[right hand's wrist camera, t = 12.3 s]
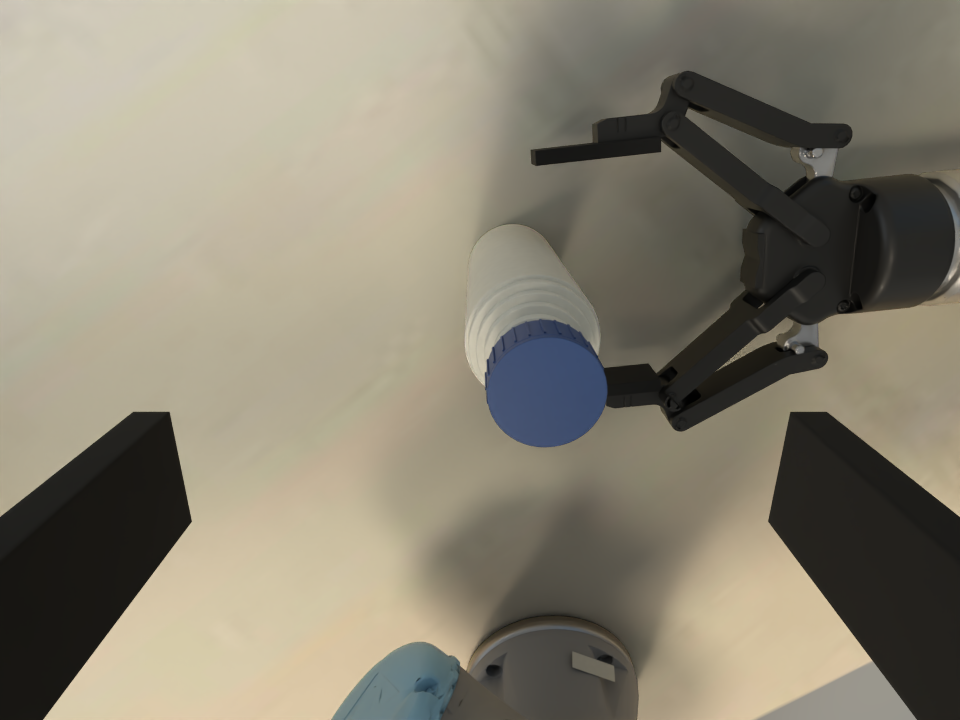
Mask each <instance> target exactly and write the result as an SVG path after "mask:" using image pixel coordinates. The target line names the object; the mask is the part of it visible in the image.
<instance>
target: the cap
mask: <svg viewBox="0 0 960 720" xmlns="http://www.w3.org/2000/svg"><path fill="white" fill-rule="evenodd" d="M486 362H487V369H486V372H485V390H486V394H487V404H488V405H489V409H490V412H491V414H492V417H493V418H494V420H495V422H496V423H497V425H498V426H499V427H500V428H501V429H502V430H503V431H504V432H505V433H506V434H507V435H509V436H510V437H511V438H513V439H515V440H517V441H519V442H521V443H523V444H527V445H530V446H536V447H555V446H560V445H563V444H567V443H569V442H572V441H574V440H576V439H577V438H579V437H581V436H582V435H584V434H585V433H586V432H587V431H589V430H590V429H591V428H592V427H593V426H594V424H595V423H596V422H597V420H598V419H599V417H600V415H601V414H602V411H603V409H604V407H605V403H606V399H607V381H606V376H605V373H604V367H603V366H602V364H601V362H600V360H599V359H598V356H597V354H596V352H595V350H594V348H593V347H592V345H591V343H590V342H589V341H588V342H587V340H586V339H585V338H584V337H583V335H582V333H581V332H580V331H579V332H578V331H577V330H575V329H574V328H572V327H571V326H570V325H569V324H567V325H566V324H564V323H561V322H558V321H556V320H554V321H553V320H542V319H539V320H534V321H529V322H527V321H526V322H525V323H522V324H520V325H518V326H516V327H512V329H511V330H509V331H508V332H506V333H505V334H504V335H503V336H501V337H500V339H499V340H498V341H497V343H496V344H495V346H494V347H492V351H491V353H490V356H489V358H488V359H487V360H486Z"/></svg>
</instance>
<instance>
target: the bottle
mask: <svg viewBox="0 0 960 720" xmlns="http://www.w3.org/2000/svg"><path fill="white" fill-rule="evenodd" d="M539 319H542V320H553V321H554V320H556V321H558V322H561V323H564V324H566V325H567V324H569V325H570V326H571V327H572V328H574V329H575V330H577V331H578V332H579V331H580V332H581V333H582V335H583V337H584V338H585V339H586V340H587V342H588V341H589V342H590V343H591V345H592V347H593V348H594V350H595V352H596V354H597V356H598V353H599V349H600V341H601V332H600V325H599V321H598V318H597V315H596V312H595V310H594V308H593V306H592V305H591V303H590V302H589V300H588V299H587V297H586V296H585V295H584V293H583V292H582V290H581V289H580V287H579V286H578V285H577V283H576V282H575V280H574V279H573V277H572V276H571V275H570V273H569V272H568V270H567V269H566V267H565V266H564V265H563V263H562V262H561V260H560V259H559V258H558V256H557V255H556V253H555V252H554V250H553V249H552V248H551V246H550V245H549V243H548V242H547V240H546V239H545V238H544V237H543V236H542V235H541V234H540V233H538V232H537V231H535V230H534V229H532V228H530V227H527V226H524V225H519V224H506V225H501V226H498V227H495V228H493V229H491V230H489V231H488V232H487V233H485V234H484V235H483V236H482V237H481V238H480V239H479V240H478V241H477V243H476V244H475V246H474V247H473V249H472V252H471V254H470V258H469V263H468V281H467V300H466V319H465V338H464V345H465V353H466V357H467V360H468V363H469V365H470V368H471V370H472V371H473V373H474V375H475V376H476V377H477V379H478V380H479V381H480V382H481V383H482V384H483V385H484V386H485V372H486V369H487V362H486V360H487V359H488V358H489V356H490V353H491V351H492V347H494V346H495V344H496V343H497V341H498V340H499V339H500V337H501V336H503V335H504V334H505V333H506V332H508V331H509V330H511V329H512V327H516V326H518V325H520V324H522V323H525V322H526V321H527V322H529V321H534V320H539Z"/></svg>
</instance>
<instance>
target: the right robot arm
mask: <svg viewBox="0 0 960 720" xmlns="http://www.w3.org/2000/svg"><path fill="white" fill-rule="evenodd" d="M191 522H192V520H191V515H190V510H189V505H188V500H187V495H186V491H185V486H184V481H183V476H182V471H181V466H180V461H179V456H178V451H177V446H176V441H175V436H174V431H173V427H172V422H171V417H170V412H133V413H131V414H130V415H129V416H127V417H126V418H125V419H124V420H122V421H121V422H120V423H119V424H117V425H116V426H115V427H114V428H112V429H111V430H110V431H109V432H107V433H106V434H105V435H103V436H102V437H101V438H100V439H98V440H97V441H96V442H95V443H93V444H92V445H91V446H90V447H88V448H87V449H86V450H84V451H83V452H82V453H81V454H79V455H78V456H77V457H76V458H74V459H73V460H72V461H71V462H69V463H68V464H67V465H65V466H64V467H63V468H62V469H60V470H59V471H58V472H57V473H55V474H54V475H53V476H52V477H50V478H49V479H48V480H46V481H45V482H44V483H43V484H41V485H40V486H39V487H38V488H36V489H35V490H34V491H33V492H31V493H30V494H29V495H28V496H26V497H25V498H24V499H22V500H21V501H20V502H19V503H17V504H16V505H15V506H14V507H12V508H11V509H10V510H9V511H7V512H6V513H5V514H3V515H2V516H1V517H0V720H43V719H44V718H45V716H46V715H47V714H48V712H49V711H50V710H51V708H52V707H53V706H54V704H55V703H56V702H57V700H58V699H59V698H60V696H61V695H62V694H63V692H64V691H65V690H66V688H67V687H68V686H69V684H70V683H71V682H72V680H73V679H74V678H75V676H76V675H77V674H78V672H79V671H80V670H81V668H82V667H83V666H84V664H85V663H86V662H87V660H88V659H89V658H90V656H91V655H92V654H93V652H94V651H95V650H96V648H97V647H98V646H99V644H100V643H101V642H102V640H103V639H104V638H105V636H106V635H107V634H108V632H109V631H110V630H111V628H112V627H113V626H114V624H115V623H116V622H117V620H118V619H119V618H120V616H121V615H122V614H123V612H124V611H125V610H126V608H127V607H128V606H129V604H130V603H131V602H132V600H133V599H134V598H135V596H136V595H137V594H138V593H139V591H140V590H141V589H142V587H143V586H144V585H145V583H146V582H147V581H148V579H149V578H150V577H151V575H152V574H153V573H154V571H155V570H156V569H157V567H158V566H159V565H160V563H161V562H162V561H163V559H164V558H165V557H166V555H167V554H168V553H169V551H170V550H171V549H172V547H173V546H174V545H175V543H176V542H177V541H178V539H179V538H180V537H181V535H182V534H183V533H184V531H185V530H186V529H187V527H188V526H189V525H190V523H191ZM768 522H769V523H770V525H771V526H772V527H773V529H774V530H775V531H776V533H777V534H778V535H779V537H780V538H781V539H782V541H783V542H784V543H785V545H786V546H787V547H788V549H789V550H790V551H791V553H792V554H793V555H794V557H795V558H796V559H797V561H798V562H799V563H800V565H801V566H802V567H803V569H804V570H805V571H806V573H807V574H808V575H809V577H810V578H811V579H812V581H813V582H814V583H815V585H816V586H817V587H818V589H819V590H820V591H821V593H822V594H823V595H824V596H825V598H826V599H827V600H828V602H829V603H830V604H831V606H832V607H833V608H834V610H835V611H836V612H837V614H838V615H839V616H840V618H841V619H842V620H843V622H844V623H845V624H846V626H847V627H848V628H849V630H850V631H851V632H852V634H853V635H854V636H855V638H856V639H857V640H858V642H859V643H860V644H861V646H862V647H863V648H864V650H865V651H866V652H867V654H868V655H869V656H870V658H871V659H872V660H873V662H874V663H875V664H876V666H877V667H878V668H879V670H880V671H881V672H882V674H883V675H884V676H885V678H886V679H887V680H888V682H889V683H890V684H891V686H892V687H893V688H894V690H895V691H896V692H897V694H898V695H899V696H900V698H901V699H902V700H903V702H904V703H905V704H906V706H907V707H908V708H909V710H910V711H911V712H912V714H913V715H914V716H915V718H916V719H917V720H960V517H959V516H958V515H957V514H955V513H954V512H953V511H951V510H950V509H949V508H948V507H946V506H945V505H944V504H943V503H941V502H940V501H939V500H938V499H936V498H935V497H934V496H932V495H931V494H930V493H929V492H927V491H926V490H925V489H924V488H922V487H921V486H920V485H919V484H917V483H916V482H915V481H914V480H912V479H911V478H910V477H908V476H907V475H906V474H905V473H903V472H902V471H901V470H900V469H898V468H897V467H896V466H895V465H893V464H892V463H891V462H889V461H888V460H887V459H886V458H884V457H883V456H882V455H881V454H879V453H878V452H877V451H876V450H874V449H873V448H872V447H870V446H869V445H868V444H867V443H865V442H864V441H863V440H862V439H860V438H859V437H858V436H857V435H855V434H854V433H853V432H851V431H850V430H849V429H848V428H846V427H845V426H844V425H843V424H841V423H840V422H839V421H838V420H836V419H835V418H834V417H833V416H831V415H830V414H829V413H827V412H790V417H789V422H788V427H787V431H786V436H785V441H784V446H783V451H782V456H781V461H780V466H779V471H778V476H777V481H776V486H775V491H774V495H773V500H772V505H771V510H770V515H769V520H768Z"/></svg>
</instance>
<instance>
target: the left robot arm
mask: <svg viewBox="0 0 960 720" xmlns="http://www.w3.org/2000/svg"><path fill="white" fill-rule="evenodd" d="M688 108H689V109H691V110H693V111H696V112H698V113H700V114H703V115H705V116H707V117H710V118H712V119H714V120H717V121H719V122H721V123H724V124H726V125H728V126H731V127H733V128H736V129H738V130H740V131H743V132H745V133H747V134H750V135H752V136H754V137H757V138H759V139H761V140H764V141H766V142H768V143H771V144H774V145H777V146H782V147H791V148H792V149H791V151H790V154H791V157H792V159H793V161H795V162H797V163H800V164H802V165H803V166H804V167H805V168H806V176H805V177H803V178H801V179H799V180H798V181H797V182H795V183H794V184H793V185H792V186H790V187H789V188H788V189H787V190H786V191H784V192H782V191H781V190H779V189H778V188H776V187H775V186H773V185H771V184H769V183H767V182H766V181H765V180H764V179H762V178H761V177H760V176H759V175H757V174H756V173H755V172H754V171H752V170H751V169H750V168H749V167H747V166H746V165H745V164H744V163H742V162H741V161H740V160H739V159H737V158H736V157H735V156H734V155H733V154H731V153H730V152H729V151H728V150H726V149H725V148H724V147H723V146H721V145H720V144H719V143H718V142H716V141H715V140H714V139H713V138H711V137H710V136H709V135H708V134H706V133H705V132H704V131H703V130H701V129H700V128H699V127H698V126H696V125H695V124H694V123H693V122H691V121H690V120H689V119H688V118H686V117H685V115H686V112H687V109H688ZM592 130H593V143H587V144H578V145H569V146H560V147H551V148H543V149H534V150H531V163H532V164H533V165H535V166H540V165H549V164H558V163H567V162H576V161H584V160H593V159H602V158H611V157H620V156H629V155H638V154H647V153H656V152H661V141H662V142H663V143H664V144H666V145H667V146H668V147H670V148H671V149H672V150H673V151H675V152H676V153H677V154H678V155H680V156H681V157H682V158H684V159H685V160H686V161H687V162H689V163H690V164H691V165H692V166H694V167H695V168H696V169H698V170H699V171H700V172H701V173H703V174H704V175H705V176H707V177H708V178H709V179H710V180H712V181H713V182H714V183H715V184H717V185H718V186H719V187H721V188H722V189H723V190H724V191H726V192H727V193H728V194H729V195H731V196H732V197H733V198H734V199H735V201H736V202H737V203H738V204H740V205H741V206H742V207H744V208H745V209H746V210H747V211H749V212H750V213H751V214H752V215H754V217H753V218H752V219H751V221H750V222H749V224H748V226H747V229H743V237H742V243H743V248H744V252H745V257H744V260H743V264H742V267H741V278H740V281H741V282H743V283H744V285H745V287H746V290H745V291H744V292H743V293H742V294H741V295H739V296H738V297H737V298H736V299H735V300H734V301H733V302H732V303H731V305H730V309H729V310H728V311H727V312H726V313H725V314H724V315H722V316H721V317H720V318H719V319H718V320H717V321H716V322H714V323H713V324H712V325H711V326H710V327H709V328H708V329H707V330H705V331H704V332H703V333H702V334H701V335H700V336H699V337H697V338H696V339H695V340H694V341H693V342H692V343H691V344H690V345H688V346H687V347H686V348H685V349H684V350H683V351H682V352H680V353H679V354H678V355H677V356H676V357H675V358H674V359H672V360H671V361H670V362H669V363H668V364H667V365H666V366H665V367H663V368H662V369H661V370H660V371H659V372H658V373H657V374H656V373H655V372H654V370H653V369H652V368H651V366H650V365H649V364H639V365H629V366H619V367H609V368H604V373H605V376H606V381H607V399H606V403H605V404H606V406H608V407H612V408H622V407H630V406H642V405H652V404H654V405H659V406H660V408H661V411H662V413H663V414H664V416H665V417H666V418H667V420H668V421H669V423H670V424H671V426H672V427H673V428H674V429H675V430H676V431H685V430H687V429H689V428H691V427H693V426H694V425H696V424H698V423H700V422H702V421H704V420H706V419H707V418H709V417H711V416H713V415H715V414H717V413H719V412H721V411H722V410H724V409H726V408H728V407H730V406H732V405H734V404H735V403H737V402H739V401H741V400H743V399H745V398H747V397H749V396H750V395H752V394H754V393H756V392H758V391H760V390H762V389H763V388H765V387H767V386H769V385H771V384H773V383H775V382H777V381H778V380H780V379H782V378H784V377H786V376H788V375H790V374H794V373H799V372H804V371H809V370H814V369H819V368H821V367H823V366H824V365H825V364H826V363H827V361H828V355H827V353H826V352H825V351H824V350H822V349H820V348H819V344H818V323H819V322H821V321H823V320H824V319H826V318H828V317H830V316H833V315H836V314H850V313H862V312H871V311H881V310H891V309H901V308H910V307H914V306H917V305H922V306H934V305H942V304H951V303H959V302H960V169H955V170H945V171H935V172H925V173H922V174H919V175H914V174H903V175H894V176H885V177H876V178H867V179H857V180H848V181H839V180H837V179H835V178H833V173H834V168H835V163H836V158H837V153H838V148H843V147H845V146H846V145H847V144H848V143H849V142H850V141H851V138H852V129H851V127H850V126H848V125H847V124H820V123H809V122H807V121H804V120H802V119H800V118H798V117H795V116H793V115H791V114H788V113H786V112H784V111H781V110H779V109H777V108H775V107H772V106H770V105H768V104H765V103H763V102H761V101H759V100H756V99H754V98H752V97H749V96H747V95H745V94H742V93H740V92H738V91H736V90H733V89H731V88H729V87H726V86H724V85H722V84H720V83H717V82H715V81H713V80H710V79H708V78H706V77H704V76H701V75H699V74H697V73H694V72H692V71H685V72H682V73H678V74H675V75H672V76H669V77H667V78H666V79H665V80H664V81H663V83H662V86H661V96H660V99H659V102H658V104H657V106H656V108H655V109H654V110H653V111H652V112H650V113H648V114H644V115H635V116H626V117H617V118H608V119H602V120H600V121H598V122H596V123H594V124H592ZM763 303H765V305H764V306H762V307H761V308H758V307H759V306H761V305H762V304H763ZM785 317H788V318H789V319H791V320H793V321H794V322H793V326H792V328H791V329H790V330H789V331H788V332H786V333H783V334H779V335H778V336H777V337H776V340H777V342H773V343H770V344H767V345H764V346H762V347H760V348H758V349H756V350H754V351H752V352H750V353H749V354H747V355H745V356H743V357H741V358H740V359H738V360H736V361H734V362H732V363H730V364H729V365H727V366H725V367H723V368H721V369H719V368H720V367H721V366H722V365H723V364H725V363H726V362H727V361H728V360H729V359H730V358H732V357H733V356H734V355H735V354H736V353H737V352H739V351H740V350H741V349H742V348H743V347H744V346H746V345H747V344H748V343H749V342H750V341H751V340H753V339H754V338H755V337H756V336H757V335H759V334H761V333H766V332H768V331H770V330H771V329H773V328H774V327H775V326H776V325H777V324H778V323H780V322H781V321H782V320H783V319H784V318H785ZM718 369H719V370H718ZM716 370H718V371H716ZM715 371H716V372H715ZM637 713H638V683H637V678H636V674H635V671H634V667H633V664H632V661H631V658H630V656H629V654H628V652H627V650H626V649H625V647H624V646H623V644H622V643H621V642H620V641H619V640H618V639H617V638H616V637H615V636H614V635H613V634H611V633H610V632H609V631H607V630H605V629H604V628H602V627H600V626H598V625H596V624H594V623H591V622H589V621H586V620H582V619H579V618H574V617H567V616H540V617H534V618H529V619H525V620H521V621H518V622H515V623H513V624H510V625H508V626H506V627H504V628H502V629H500V630H499V631H497V632H495V633H494V634H493V635H491V636H490V637H489V638H488V639H486V640H485V641H484V642H483V643H482V644H481V645H480V646H479V648H478V649H477V650H476V652H475V653H474V655H473V656H472V658H471V660H470V662H469V665H468V668H467V671H465V670H464V669H463V668H462V667H461V666H460V662H459V661H458V659H457V658H456V657H454V656H448V655H446V654H445V653H444V652H442V651H441V650H440V649H438V648H437V647H436V646H434V645H432V644H429V643H426V642H414V643H409V644H407V645H404V646H402V647H400V648H398V649H396V650H394V651H393V652H391V653H390V654H389V655H387V656H386V657H385V658H384V659H383V660H381V661H380V662H378V663H377V664H376V665H375V666H374V667H373V668H372V669H371V670H370V671H369V672H368V673H367V674H366V675H365V676H364V677H363V678H362V679H361V680H360V681H359V683H358V684H357V685H356V686H355V687H354V689H353V690H352V691H351V692H350V694H349V695H348V696H347V698H346V699H345V700H344V702H343V703H342V704H341V706H340V707H339V709H338V710H337V712H336V713H335V715H334V716H333V718H332V719H331V720H637Z"/></svg>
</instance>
